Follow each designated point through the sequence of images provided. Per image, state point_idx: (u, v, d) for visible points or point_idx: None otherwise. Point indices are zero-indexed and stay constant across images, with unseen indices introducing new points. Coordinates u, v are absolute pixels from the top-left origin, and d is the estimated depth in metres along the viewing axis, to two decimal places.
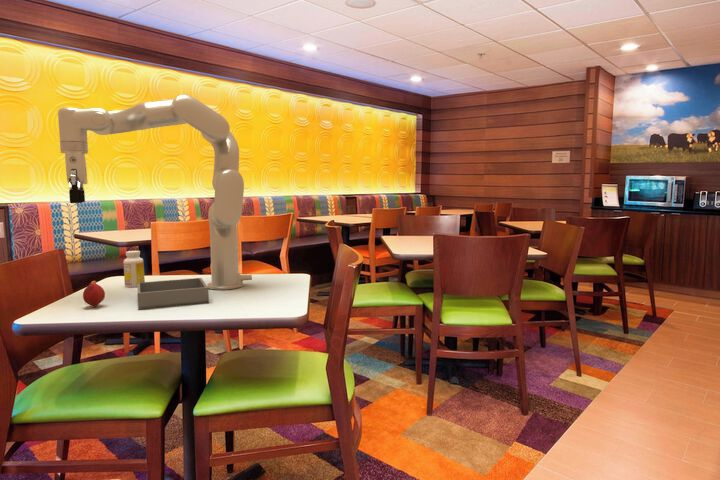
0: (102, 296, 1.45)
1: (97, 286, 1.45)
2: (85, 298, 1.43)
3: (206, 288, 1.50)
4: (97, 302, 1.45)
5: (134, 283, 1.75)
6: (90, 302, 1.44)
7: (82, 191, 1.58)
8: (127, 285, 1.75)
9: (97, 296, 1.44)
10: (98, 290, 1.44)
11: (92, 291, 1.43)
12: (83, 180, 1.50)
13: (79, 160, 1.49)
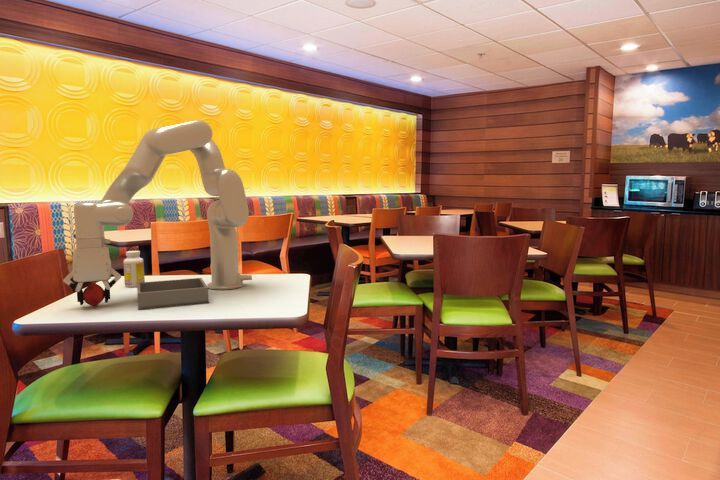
0: (102, 296, 1.45)
1: (97, 286, 1.45)
2: (85, 298, 1.43)
3: (206, 288, 1.50)
4: (97, 302, 1.45)
5: (134, 283, 1.75)
6: (90, 302, 1.44)
7: None
8: (127, 285, 1.75)
9: (97, 296, 1.44)
10: (98, 290, 1.44)
11: (92, 291, 1.43)
12: None
13: None
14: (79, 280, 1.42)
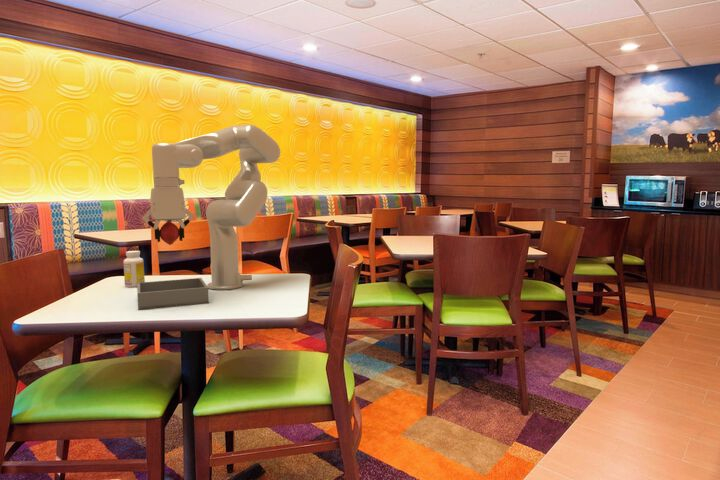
0: (177, 234, 1.52)
1: (173, 224, 1.51)
2: (162, 235, 1.50)
3: (206, 288, 1.50)
4: (173, 239, 1.51)
5: (134, 283, 1.75)
6: (167, 239, 1.50)
7: None
8: (127, 285, 1.75)
9: (174, 233, 1.50)
10: (174, 228, 1.51)
11: (169, 228, 1.50)
12: None
13: None
14: (157, 218, 1.48)
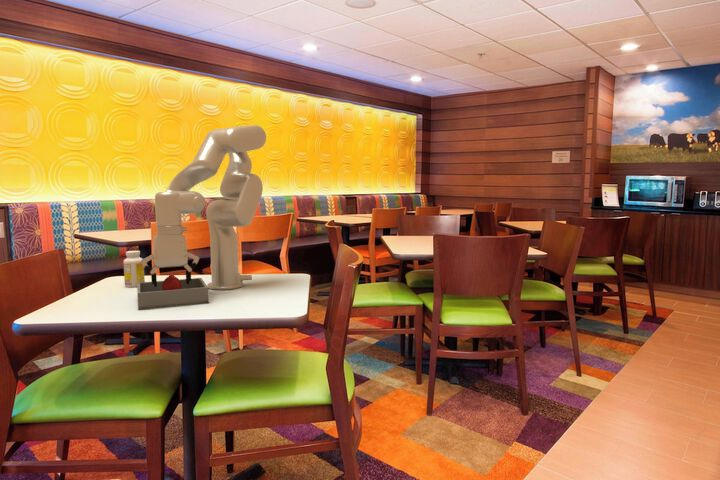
0: (180, 288, 1.53)
1: (175, 278, 1.53)
2: (165, 290, 1.51)
3: (206, 288, 1.50)
4: None
5: (134, 283, 1.75)
6: None
7: None
8: (127, 285, 1.75)
9: (176, 288, 1.52)
10: (176, 282, 1.52)
11: (171, 283, 1.51)
12: None
13: None
14: (159, 265, 1.50)
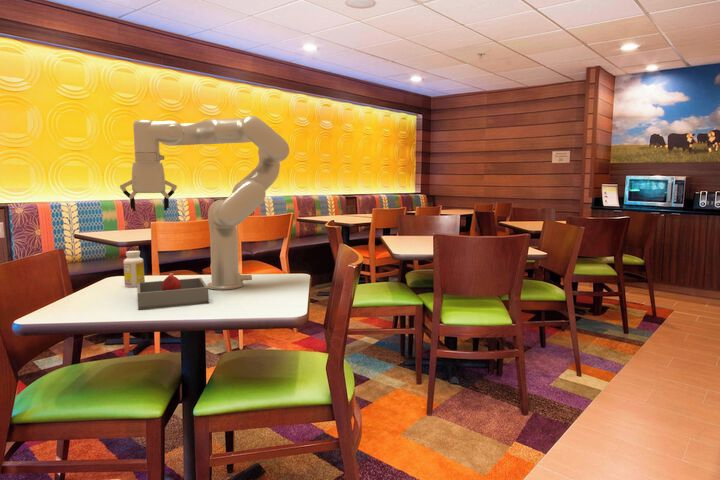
0: (179, 287, 1.54)
1: (175, 278, 1.53)
2: (165, 289, 1.51)
3: (206, 288, 1.50)
4: None
5: (134, 283, 1.75)
6: None
7: None
8: (127, 285, 1.75)
9: (176, 287, 1.52)
10: (176, 281, 1.53)
11: (171, 282, 1.52)
12: None
13: None
14: (138, 190, 1.57)
